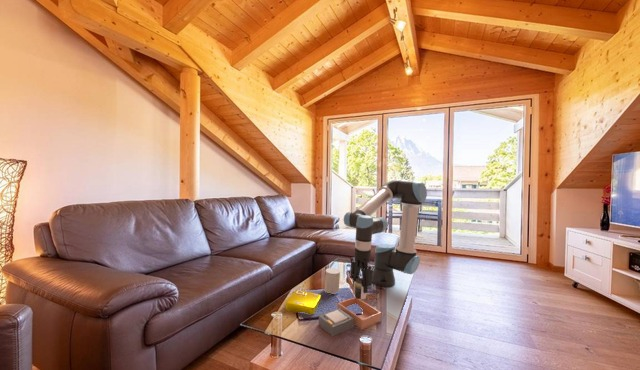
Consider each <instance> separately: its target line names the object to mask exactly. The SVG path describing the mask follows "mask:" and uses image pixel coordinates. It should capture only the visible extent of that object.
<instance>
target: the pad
mask: <svg viewBox="0 0 640 370" xmlns="http://www.w3.org/2000/svg"><path fill="white" fill-rule="evenodd" d="M335 310H336V311H334V310H333V311H334V312H331V311H330V312H331V313H328V312H327V313H328V314H325V313H324V314H325V318H326V319H327V320H330V321H331V322H332V323H333V324H334V325H335V324H338V323H340V322H343V321H345V320H348V317H346V316H345V315H344V314H342V313H341V312H339V311H338V310H337V309H335Z"/></svg>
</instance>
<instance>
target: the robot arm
mask: <svg viewBox="0 0 640 370" xmlns="http://www.w3.org/2000/svg"><path fill="white" fill-rule="evenodd" d="M377 190H378V191H377V192H376V193H375V194H373V195H372V196H371V197H370V198H369V199H368V200H367V201H365V202H364V203H363V204H362V205H361V206H359V207H358V208H357V209H355V210H354V212H351V211H349V212H346V213H345V214H344V216H343V223H344V225H345V227H350V228H352V229H355V242H354V243H355V244H354V247H355V248H354V253H353V254H354V257H350V279H352V281H353V282H352V284H353V285H352V287H353V292H352V294H353V296H355V284H356V277H360V273H361V275H362V276H361V277H362V279H363V285H362V288H361V299H360V300H365V299H367V293H368V290H369V289H368V288H369V287H371V286H372V285H373V284H374V285H376V286H379V287H392V286H394V285H395V284H396V278H395V274H394V270H395V271H398V272H400V273H404V274H408V275H413V274H415V273H416V271H417V270H418V268H419V265H420V261H421V259H420V258H421V257H420V256H419V255H417V252H418V251H417V250H416V248H415V244H416V234H417V226H418V225H417V224H418V216H419V208H420V207H421V206H422V203H425V202H426V200H427V196H428V195H427V194H428V191H427V186H426V184H425V183H424V182H422V181H419V180H411V179H410V180H409V179H399V178H398V179H397V178H396V179H393V180H390V181H388V182H386V183H385V184H383V185H382V186H380V187H379V188H378V189H377ZM393 199H399V200H400V203H401V205H402V212H401V213H402V215H401V223H400V233H399V241H398V242H399V244H398V246H395V245H394V244H388V243H384V244H383V243H382V244H378V245H376V246H375V248H374V249H375V250H374V262H373V265H371V262H370V258H371V256H372V253H371V252H372V251H371V249H372V241H373V239H372V238H373V235H376V234H381V233H382V232H385V231H386V230H387V228H388V222H387V220H386V219H385V218H384V217H381V216H376V217H373V215H374V213H376V212H377V211H378V210H379V209H380V208H381V207H383V206H384V205H385V204H386V203H387V202H390V201H392V200H393Z"/></svg>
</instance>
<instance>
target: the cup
mask: <svg viewBox="0 0 640 370" xmlns="http://www.w3.org/2000/svg"><path fill="white" fill-rule="evenodd" d="M340 278H341V270H340V269H339V268H336V267H327V268H326V269H325V277H324V279H325V280H324V292H325V293H326V292H328V293H336V292H338V291H339V292H340V280H341V279H340Z"/></svg>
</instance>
